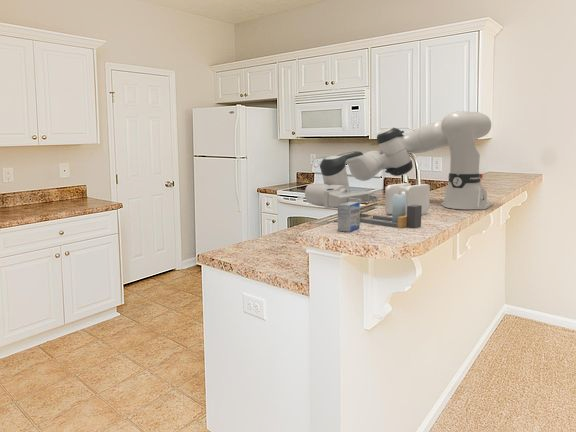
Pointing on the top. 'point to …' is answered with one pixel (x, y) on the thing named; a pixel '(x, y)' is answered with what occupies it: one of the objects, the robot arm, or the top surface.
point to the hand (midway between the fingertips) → (369, 200)
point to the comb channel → (399, 218)
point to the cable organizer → (408, 196)
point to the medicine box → (348, 216)
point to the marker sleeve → (398, 207)
